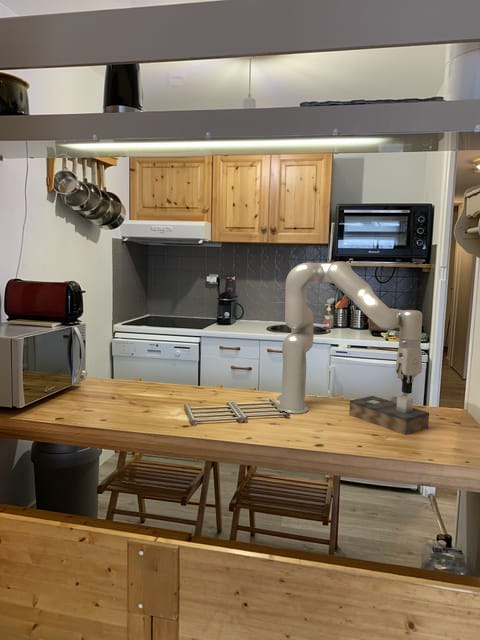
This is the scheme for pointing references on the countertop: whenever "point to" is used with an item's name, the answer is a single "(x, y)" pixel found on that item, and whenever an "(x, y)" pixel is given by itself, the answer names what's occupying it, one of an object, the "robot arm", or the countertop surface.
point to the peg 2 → (404, 404)
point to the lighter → (394, 399)
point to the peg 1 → (373, 401)
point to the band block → (389, 415)
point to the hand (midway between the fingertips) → (406, 392)
